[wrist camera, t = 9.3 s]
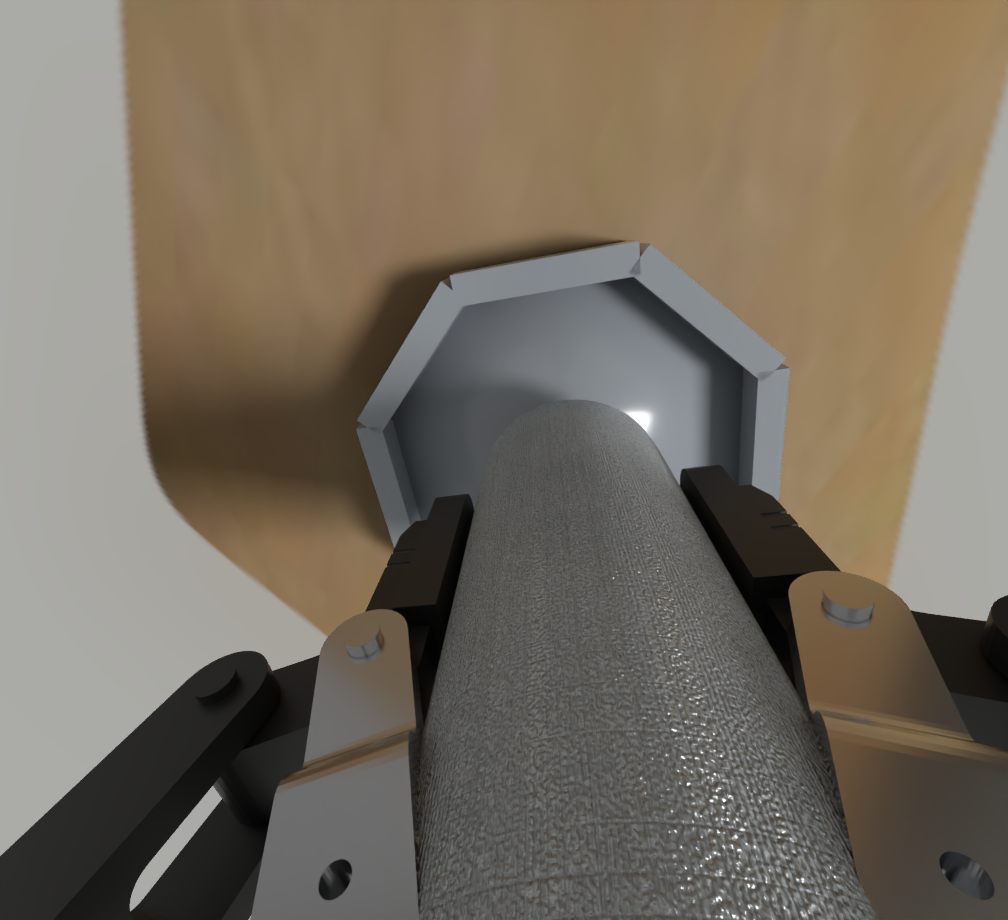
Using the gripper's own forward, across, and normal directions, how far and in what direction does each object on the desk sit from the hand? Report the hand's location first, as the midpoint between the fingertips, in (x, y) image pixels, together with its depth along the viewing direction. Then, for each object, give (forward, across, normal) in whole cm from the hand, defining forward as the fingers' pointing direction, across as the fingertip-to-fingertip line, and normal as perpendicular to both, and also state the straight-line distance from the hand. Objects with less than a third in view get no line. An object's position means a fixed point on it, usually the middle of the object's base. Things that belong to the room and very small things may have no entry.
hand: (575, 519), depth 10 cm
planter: (+2, 0, 0) cm, 2 cm away
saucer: (+4, 0, 0) cm, 4 cm away
